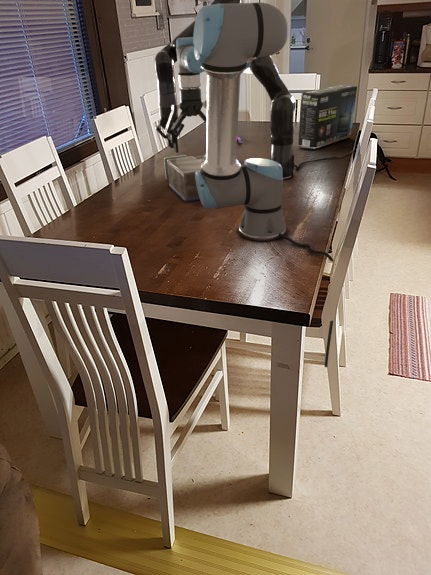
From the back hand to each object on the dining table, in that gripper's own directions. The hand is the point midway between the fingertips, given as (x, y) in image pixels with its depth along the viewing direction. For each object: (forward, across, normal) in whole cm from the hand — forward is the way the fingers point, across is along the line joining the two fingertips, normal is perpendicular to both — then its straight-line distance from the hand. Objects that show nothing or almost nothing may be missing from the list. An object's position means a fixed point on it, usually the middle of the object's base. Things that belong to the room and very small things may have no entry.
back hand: (171, 147), depth 197 cm
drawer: (+12, 0, +11) cm, 16 cm away
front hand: (-6, 0, +29) cm, 30 cm away
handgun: (+13, -50, -49) cm, 71 cm away
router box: (+13, -90, -17) cm, 93 cm away
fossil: (+13, -23, -10) cm, 28 cm away
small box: (+13, 0, +21) cm, 25 cm away
